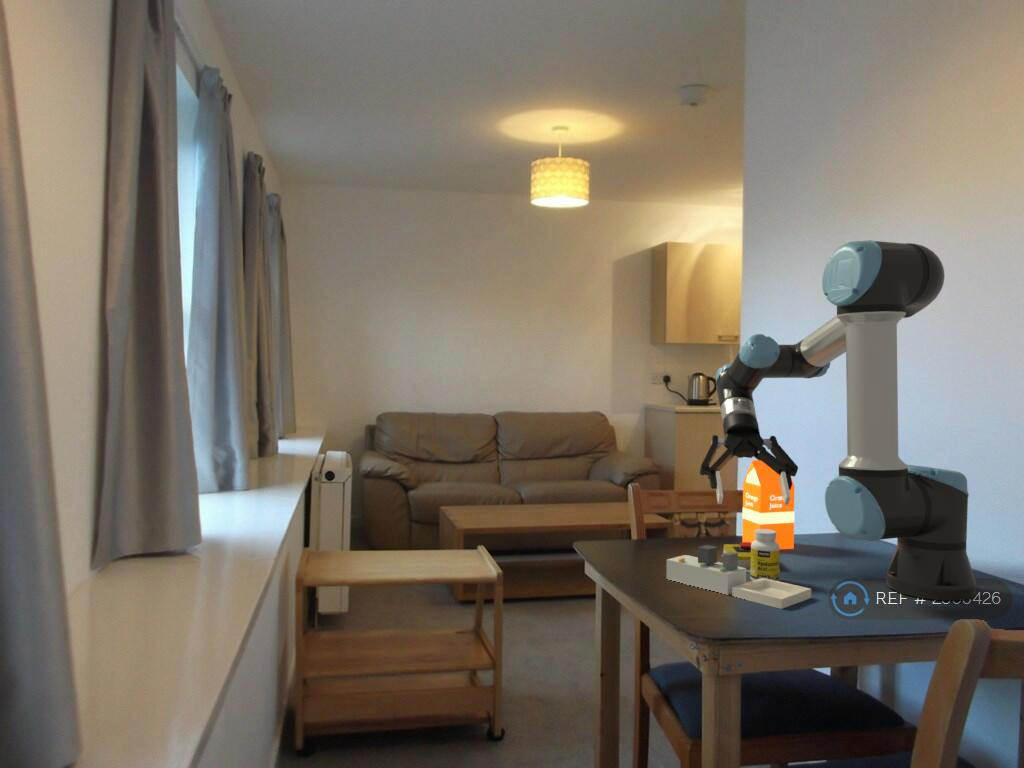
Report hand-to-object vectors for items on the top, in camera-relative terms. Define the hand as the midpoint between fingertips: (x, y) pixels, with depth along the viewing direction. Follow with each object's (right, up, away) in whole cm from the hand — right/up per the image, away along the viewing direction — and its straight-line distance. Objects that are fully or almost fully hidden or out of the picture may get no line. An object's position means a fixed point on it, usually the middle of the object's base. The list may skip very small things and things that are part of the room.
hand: (754, 500), depth 174 cm
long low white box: (-13, -14, -12) cm, 23 cm away
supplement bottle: (-1, -15, -9) cm, 17 cm away
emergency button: (0, -15, +4) cm, 15 cm away
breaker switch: (-13, -10, -13) cm, 21 cm away
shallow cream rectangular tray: (-3, -15, -21) cm, 25 cm away
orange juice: (+9, -13, +21) cm, 26 cm away
